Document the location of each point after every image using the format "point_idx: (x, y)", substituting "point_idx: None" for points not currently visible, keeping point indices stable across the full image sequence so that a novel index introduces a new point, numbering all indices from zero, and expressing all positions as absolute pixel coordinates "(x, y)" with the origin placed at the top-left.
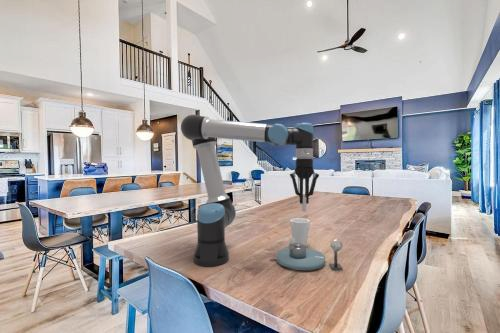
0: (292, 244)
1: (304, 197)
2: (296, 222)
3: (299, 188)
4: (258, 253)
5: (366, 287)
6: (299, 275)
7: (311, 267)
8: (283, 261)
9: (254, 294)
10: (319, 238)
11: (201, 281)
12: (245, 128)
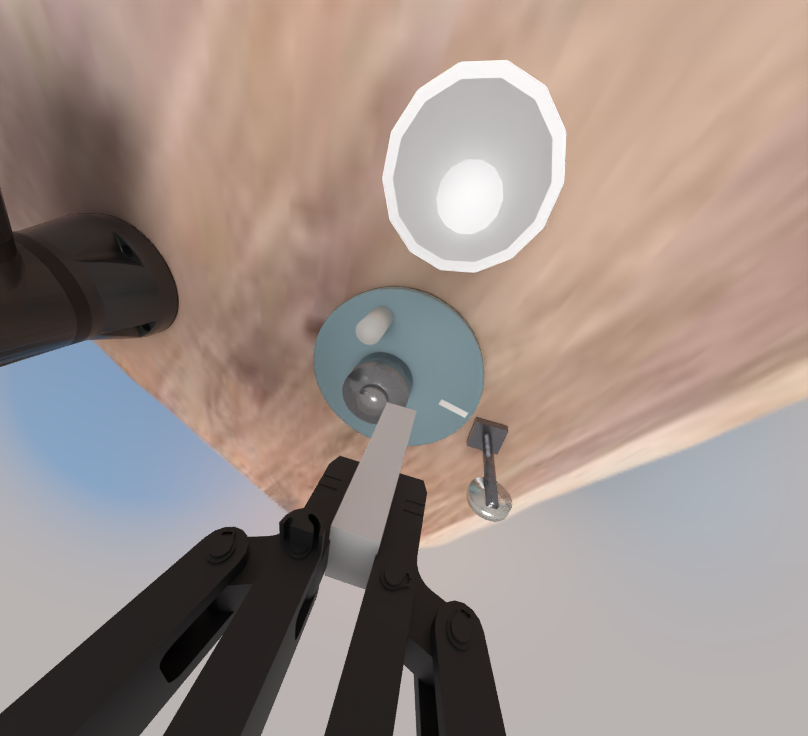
0: (359, 372)
1: (347, 572)
2: (411, 249)
3: (196, 686)
4: (267, 254)
5: None
6: (367, 437)
7: None
8: (328, 402)
9: (264, 468)
10: (714, 19)
11: (157, 398)
12: None
